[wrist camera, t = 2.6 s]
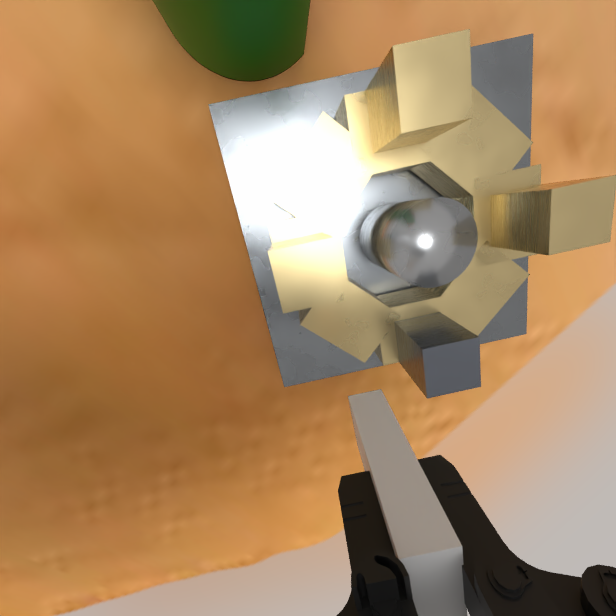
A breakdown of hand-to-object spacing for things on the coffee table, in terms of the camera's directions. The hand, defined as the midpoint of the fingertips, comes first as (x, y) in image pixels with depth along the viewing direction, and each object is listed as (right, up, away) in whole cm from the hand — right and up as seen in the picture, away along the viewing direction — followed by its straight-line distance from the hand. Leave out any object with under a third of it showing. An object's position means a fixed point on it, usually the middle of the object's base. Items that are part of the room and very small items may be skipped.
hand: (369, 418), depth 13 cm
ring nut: (+3, +10, +7) cm, 13 cm away
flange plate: (+3, +10, +9) cm, 14 cm away
